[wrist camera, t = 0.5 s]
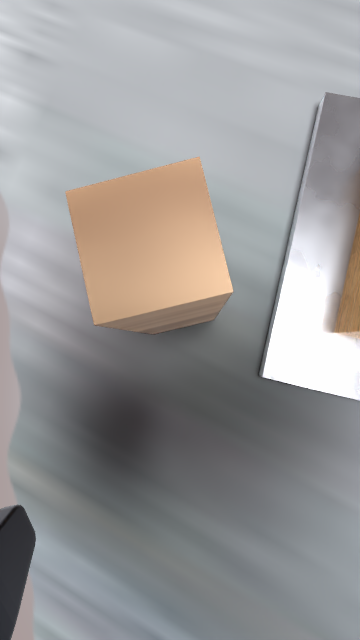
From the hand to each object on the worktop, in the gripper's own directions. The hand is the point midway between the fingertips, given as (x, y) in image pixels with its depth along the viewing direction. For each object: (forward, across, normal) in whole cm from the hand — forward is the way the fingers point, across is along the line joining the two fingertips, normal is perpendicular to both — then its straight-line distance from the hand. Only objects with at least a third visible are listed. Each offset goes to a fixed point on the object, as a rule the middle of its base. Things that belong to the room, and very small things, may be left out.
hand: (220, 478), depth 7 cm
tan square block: (+15, +1, -1) cm, 15 cm away
